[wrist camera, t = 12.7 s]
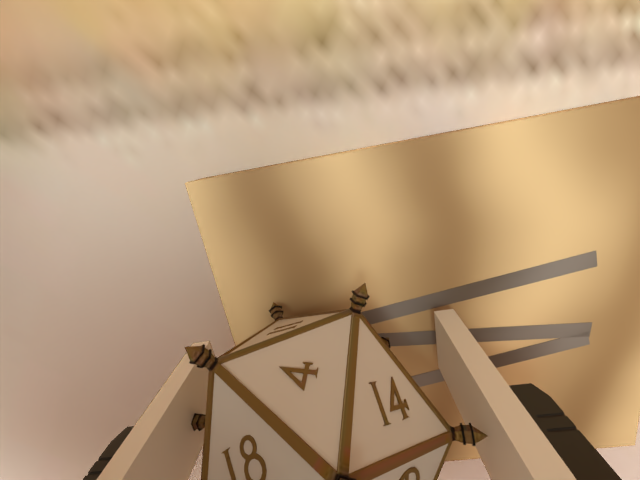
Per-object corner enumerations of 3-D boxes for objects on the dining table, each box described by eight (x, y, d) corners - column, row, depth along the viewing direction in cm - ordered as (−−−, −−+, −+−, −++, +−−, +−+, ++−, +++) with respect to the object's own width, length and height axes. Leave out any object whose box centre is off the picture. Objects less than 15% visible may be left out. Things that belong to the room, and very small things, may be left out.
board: (281, 441, 18) (275, 475, 16) (205, 177, 14) (184, 183, 12) (600, 410, 17) (635, 445, 15) (636, 96, 12) (694, 87, 10)
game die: (320, 273, 16) (381, 183, 7) (424, 408, 15) (677, 522, 6) (167, 388, 14) (-67, 492, 4) (277, 566, 12) (286, 1297, 3)
